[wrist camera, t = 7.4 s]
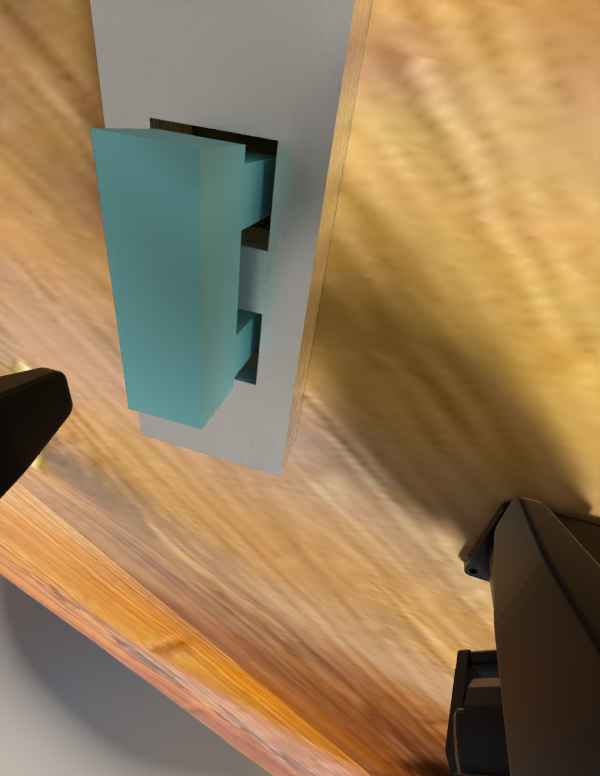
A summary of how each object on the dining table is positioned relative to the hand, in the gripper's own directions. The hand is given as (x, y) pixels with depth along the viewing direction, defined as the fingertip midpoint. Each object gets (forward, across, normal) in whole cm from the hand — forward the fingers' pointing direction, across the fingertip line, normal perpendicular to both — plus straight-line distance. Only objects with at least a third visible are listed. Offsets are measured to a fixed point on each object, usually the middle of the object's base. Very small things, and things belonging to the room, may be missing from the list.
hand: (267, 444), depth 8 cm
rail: (+12, +5, 0) cm, 13 cm away
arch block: (+12, +5, 0) cm, 13 cm away
